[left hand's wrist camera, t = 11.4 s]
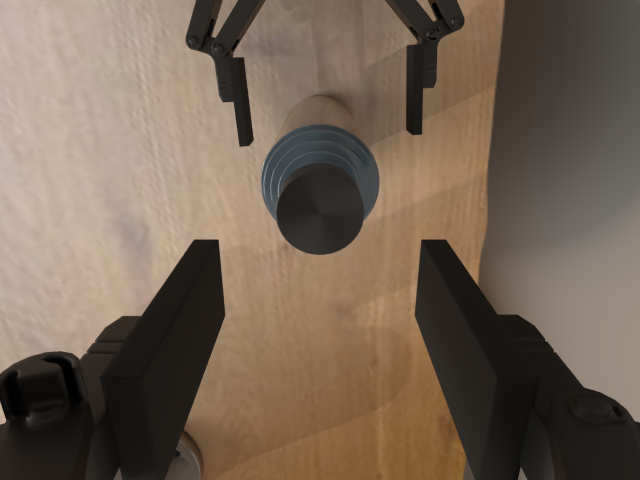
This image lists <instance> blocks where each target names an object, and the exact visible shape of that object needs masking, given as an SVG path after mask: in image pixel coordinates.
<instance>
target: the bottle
mask: <svg viewBox="0 0 640 480" xmlns="http://www.w3.org/2000/svg"><path fill="white" fill-rule="evenodd" d="M312 163H328V164H332V165H335V166H338V167H340V168H342V169H343V170H345V171H346V172H347V173H348V174H349V175H350V176H351V177H352V178H353V179H354V181H355V182H356V184H357V186H358V188H359V191H360V194H361V198H362V201H363V205H364V220H365V219H366V218H367V216H368V215H369V214H370V212H371V211H372V209H373V207H374V205H375V202H376V200H377V196H378V192H379V172H378V168H377V164H376V161H375V159H374V157H373V155H372V153H371V151H370V149H369V147H368V145H367V144H366V142H365V140H364V138H363V136H362V134H361V132H360V130H359V129H358V127H357V125H356V123H355V121H354V119H353V117H352V116H351V114H350V112H349V111H348V109H347V108H346V107H345V106H344V105H343V104H342V103H341V102H339V101H338V100H336V99H334V98H331V97H327V96H313V97H309V98H306V99H304V100H302V101H301V102H299V103H298V104H297V105H296V106H295V107H294V108H293V109H292V111H291V112H290V114H289V116H288V117H287V119H286V121H285V123H284V125H283V127H282V129H281V131H280V132H279V134H278V136H277V138H276V140H275V142H274V144H273V145H272V147H271V149H270V151H269V153H268V155H267V157H266V159H265V161H264V164H263V167H262V172H261V192H262V196H263V200H264V202H265V205H266V207H267V209H268V211H269V212H270V214H271V215H272V216H273V218H274V219H275V220H276V205H277V201H278V197H279V194H280V191H281V188H282V186H283V184H284V182H285V181H286V179H287V178H288V177H289V176H290V175H291V174H292V173H293V172H294V171H295V170H297V169H299V168H300V167H303V166H305V165H308V164H312ZM276 221H277V220H276Z"/></svg>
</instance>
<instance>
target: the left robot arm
mask: <svg viewBox="0 0 640 480" xmlns="http://www.w3.org/2000/svg"><path fill="white" fill-rule="evenodd" d="M224 317H225V307H224V296H223V284H222V273H221V262H220V251H219V240H194V241H193V242H192V243H191V245H190V246H189V248H188V249H187V251H186V252H185V254H184V255H183V257H182V258H181V259H180V261H179V262H178V264H177V265H176V267H175V268H174V270H173V271H172V273H171V274H170V275H169V277H168V278H167V280H166V281H165V283H164V284H163V286H162V287H161V288H160V290H159V291H158V293H157V294H156V296H155V297H154V299H153V300H152V302H151V303H150V304H149V306H148V307H147V309H146V310H145V312H144V313H143V315H142V316H122V317H121V318H119V319H118V320H116V321H115V322H113V323H112V324H110V325H108V326H107V327H106V328H105V329H104V330H103V331H102V333H101V334H100V335H99V336H98V338H97V339H96V340H95V343H93V344H92V345H91V346H90V348H89V349H88V350H87V354H84V355H83V357H82V358H81V359H80V360H79V358H77V357H76V356H75V355H73V354H72V353H67V352H62V351H59V352H46V353H42V354H38V355H34V356H30V357H28V358H26V359H24V360H21V361H19V362H17V363H15V364H13V365H12V366H10V367H9V368H7V369H6V370H5V371H3V372H2V373H1V374H0V402H1V405H2V408H3V411H4V414H5V417H6V423H4V424H1V425H0V480H201V477H202V473H203V460H202V456H201V453H200V451H199V449H198V447H197V445H196V444H195V443H194V441H193V440H192V439H191V438H190V437H189V436H188V435H187V434H186V433H184V432H183V429H184V426H185V424H186V421H187V418H188V416H189V413H190V410H191V407H192V405H193V402H194V399H195V396H196V394H197V391H198V388H199V386H200V383H201V380H202V377H203V375H204V372H205V369H206V366H207V364H208V361H209V358H210V356H211V353H212V350H213V347H214V345H215V342H216V339H217V336H218V334H219V331H220V328H221V326H222V323H223V320H224ZM415 317H416V320H417V323H418V326H419V328H420V331H421V334H422V336H423V339H424V342H425V345H426V347H427V350H428V353H429V356H430V358H431V361H432V364H433V366H434V369H435V372H436V375H437V377H438V380H439V383H440V386H441V388H442V391H443V394H444V396H445V399H446V402H447V405H448V407H449V410H450V413H451V416H452V418H453V421H454V424H455V426H456V429H457V432H458V435H459V437H460V440H461V443H462V446H463V448H464V451H465V454H466V456H467V459H468V462H469V465H470V467H471V470H472V473H473V476H474V478H475V480H518V476H519V472H520V467H522V469H523V472H524V473H525V476H526V478H527V480H640V423H639V422H635V421H634V419H633V418H632V417H631V415H630V414H629V412H628V411H627V409H625V408H624V407H623V406H622V405H620V404H619V403H618V402H617V401H615V400H614V399H612V398H610V397H608V396H606V395H604V394H602V393H600V392H597V391H594V390H591V389H587V388H584V387H583V386H582V385H581V383H580V382H579V381H578V380H577V378H576V377H575V376H574V375H573V373H572V372H571V371H570V370H569V368H568V367H567V366H566V365H565V363H564V362H563V361H562V360H561V358H560V357H559V356H558V355H557V353H554V350H553V348H552V347H551V346H550V345H549V343H548V342H545V338H544V337H543V336H542V335H541V333H540V332H539V331H538V330H537V328H536V327H535V326H534V325H532V324H531V323H529V322H528V321H526V320H525V319H523V318H522V317H520V316H519V315H497V313H496V312H495V310H494V309H493V307H492V306H491V304H490V303H489V302H488V300H487V299H486V297H485V296H484V294H483V293H482V291H481V290H480V288H479V287H478V286H477V284H476V283H475V281H474V280H473V278H472V277H471V275H470V274H469V273H468V271H467V270H466V268H465V267H464V265H463V264H462V262H461V261H460V259H459V258H458V257H457V255H456V254H455V252H454V251H453V249H452V248H451V246H450V245H449V243H448V242H447V241H446V240H421V251H420V262H419V273H418V284H417V296H416V307H415Z"/></svg>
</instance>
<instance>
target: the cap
mask: <svg viewBox="0 0 640 480" xmlns="http://www.w3.org/2000/svg"><path fill="white" fill-rule="evenodd" d="M276 220H277V224H278V227H279V230H280V232H281V233H282V235H283V236H284V238H285V239H286V240H287V241H288V242H289V243H290V244H291V245H292V246H294V247H295V248H297V249H299V250H301V251H303V252H306V253H309V254H316V255H325V254H331V253H334V252H337V251H339V250H341V249H343V248H345V247H346V246H348V245H349V244H350V243H351V242H352V241H353V240H354V239H355V238H356V236H357V235H358V233H359V232H360V230H361V227H362V224H363V221H364V205H363V201H362V198H361V194H360V191H359V188H358V186H357V184H356V182H355V181H354V179H353V178H352V177H351V176H350V175H349V174H348V173H347V172H346V171H345V170H343V169H342V168H340V167H338V166H335V165H332V164H328V163H312V164H308V165H305V166H303V167H300V168H299V169H297V170H295V171H294V172H293V173H292V174H291V175H290V176H289V177H288V178H287V179H286V181H285V182H284V184H283V186H282V188H281V191H280V194H279V197H278V201H277V205H276Z"/></svg>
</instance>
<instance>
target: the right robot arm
mask: <svg viewBox="0 0 640 480" xmlns="http://www.w3.org/2000/svg"><path fill="white" fill-rule="evenodd" d="M385 1H386V2H387V3H388V5H389V6H390V7H391V8H392V10H393V11H394V12H395V13H396V14H397V16H398V17H399V18H400V19H401V21H402V22H403V23H404V24H405V26H406V27H407V28H408V29H409V30H410V32H411V33H412V34H413V35H414V37H415V38H416V39H417V45H408V46H407V85H406V130H407V131H408V132H409V133H411V134H412V135H420V134H422V106H423V88H434V85H435V83H436V72H437V45H438V42H439V41H440V39H441V38H442V37H444V36H446V35H448V34H450V33H452V32H455V31H457V30H460V29H461V28H462V27H463V25H464V21H465V20H464V16H463V14H462V12H461V9H460V7H459V4H458V2H457V0H428V2H429V4H430V6H431V8H432V11H433V13H434V15H435V17H436V21H434V22H433V21H432V20H431V18H430V17H429V16H428V15H427V13H426V12H425V11H424V9H423V8H422V7H421V6H420V4H419V3H418V2H417V1H416V0H385ZM264 2H265V0H238V2H237V3H236V5H235V7H234V8H233V10H232V12H231V13H230V15H229V17H228V18H227V20H226V22H225V23H224V25H223V27H222V28H221V30H220V32H219V33H218V35H217V37H216V38H214V37H212V34H213V30H214V27H215V24H216V20H217V17H218V14H219V10H220V7H221V4H222V0H196V3H195V6H194V10H193V14H192V17H191V21H190V24H189V28H188V31H187V35H186V44H187V46H188V47H189V48H190V49H193V50H197V51H200V52H203V53H207V54H209V55H210V56H211V57H212V58H213V60H214V62H215V69H216V76H217V82H218V90H219V96H220V98H221V100H222V102H234V108H235V116H236V123H237V131H238V138H239V146H240V147H242V146H249V145H250V144H251V143H252V142H253V140H254V139H253V130H252V122H251V114H250V105H249V97H248V89H247V80H246V72H245V64H244V57H237V58H233V55H234V54H233V52H234V51H235V49H236V47H237V46H238V44H239V42H240V41H241V39H242V38H243V36H244V34H245V33H246V31H247V30H248V28H249V26H250V25H251V23H252V21H253V20H254V18H255V17H256V15H257V13H258V12H259V10H260V8H261V7H262V5H263V4H264Z"/></svg>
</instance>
